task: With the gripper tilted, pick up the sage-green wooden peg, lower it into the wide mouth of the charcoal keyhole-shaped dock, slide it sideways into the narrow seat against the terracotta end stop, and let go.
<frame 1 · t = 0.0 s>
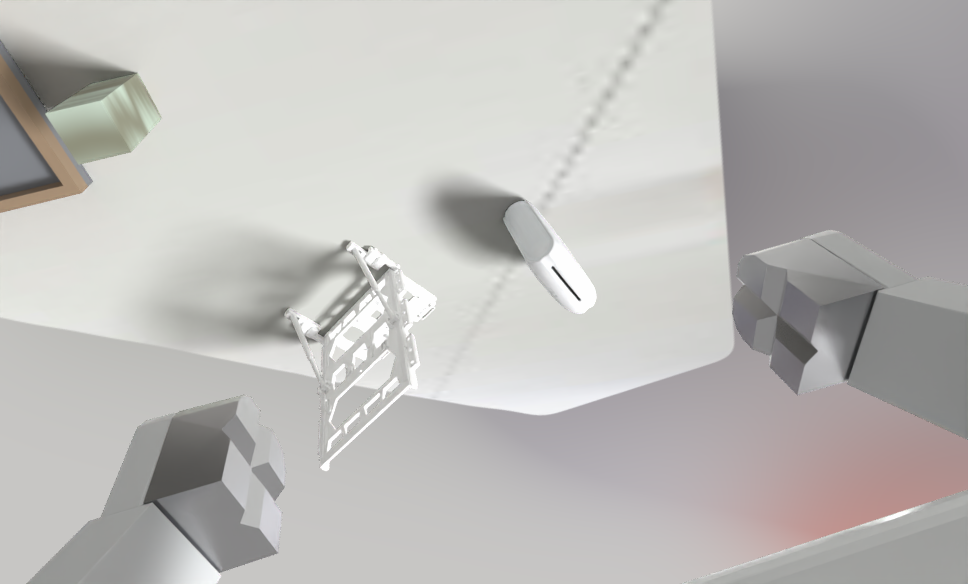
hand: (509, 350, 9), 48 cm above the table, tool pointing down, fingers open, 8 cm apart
green peg: (127, 101, 48), on the table
white perforated frame: (364, 306, 65), on the table
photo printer: (533, 232, 65), on the table
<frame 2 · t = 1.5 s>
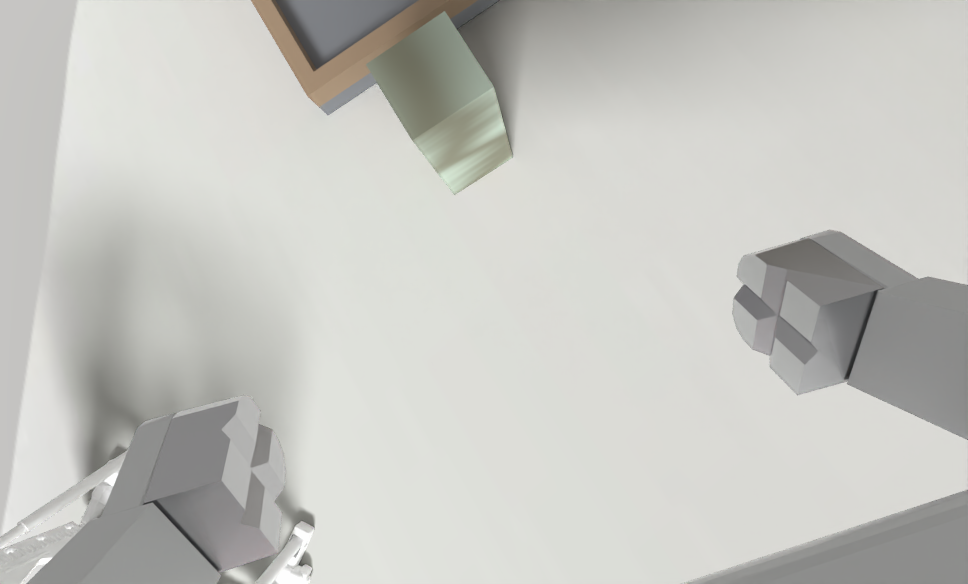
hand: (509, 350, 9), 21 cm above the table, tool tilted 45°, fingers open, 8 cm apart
green peg: (465, 148, 31), on the table
white perforated frame: (181, 583, 32), on the table
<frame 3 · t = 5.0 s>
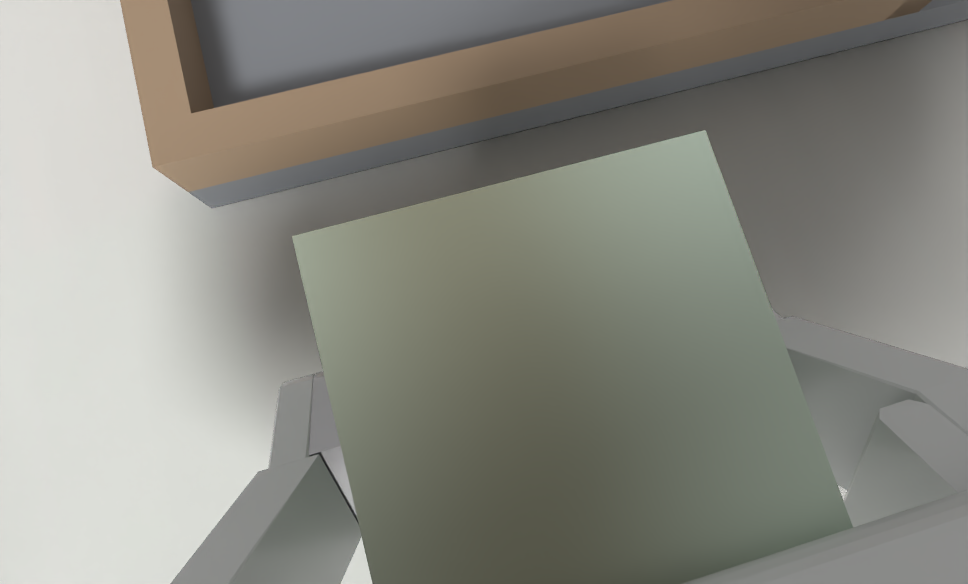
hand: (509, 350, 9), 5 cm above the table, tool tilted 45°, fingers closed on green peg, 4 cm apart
green peg: (500, 387, 14), on the table, touching gripper
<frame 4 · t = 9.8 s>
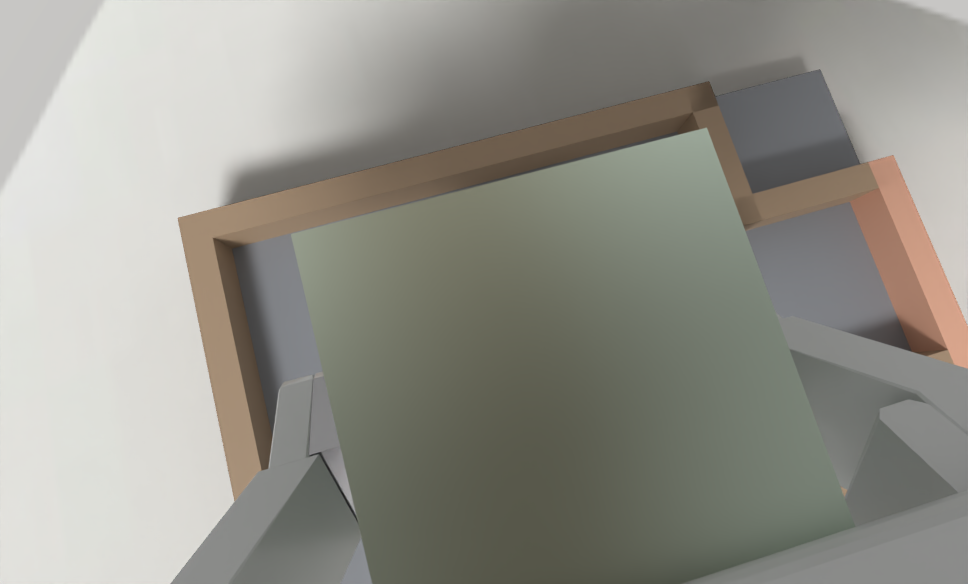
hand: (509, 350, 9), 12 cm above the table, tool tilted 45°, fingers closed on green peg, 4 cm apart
green peg: (500, 386, 14), point 7 cm above the table, touching gripper
keyhole dock: (571, 364, 21), on the table
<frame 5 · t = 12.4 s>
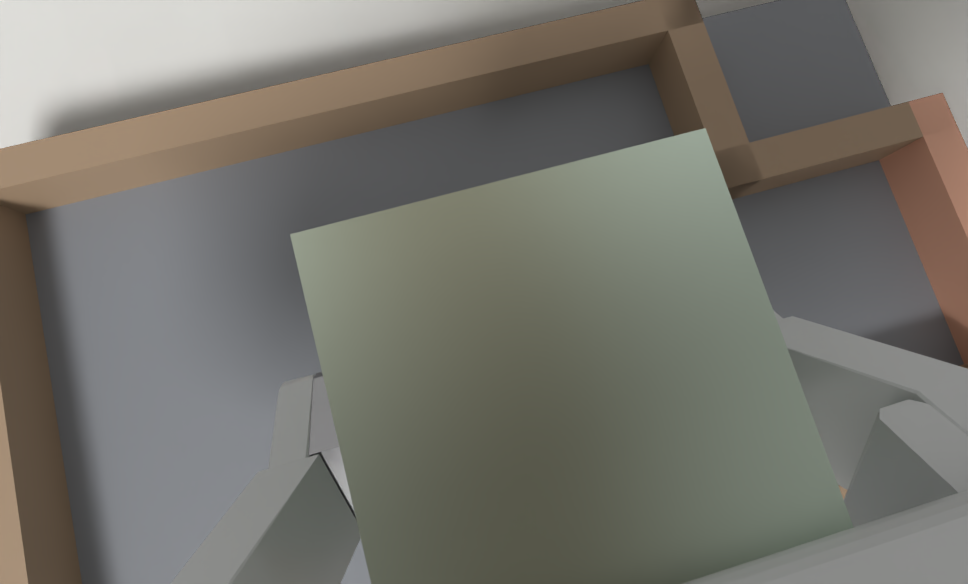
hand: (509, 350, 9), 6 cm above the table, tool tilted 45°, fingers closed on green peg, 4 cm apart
green peg: (499, 386, 14), point 2 cm above the table, touching gripper
keyhole dock: (501, 378, 15), on the table
when the fingers open (7 cm above the table, at t = 14.9 s): green peg stays where it is, resting on keyhole dock.
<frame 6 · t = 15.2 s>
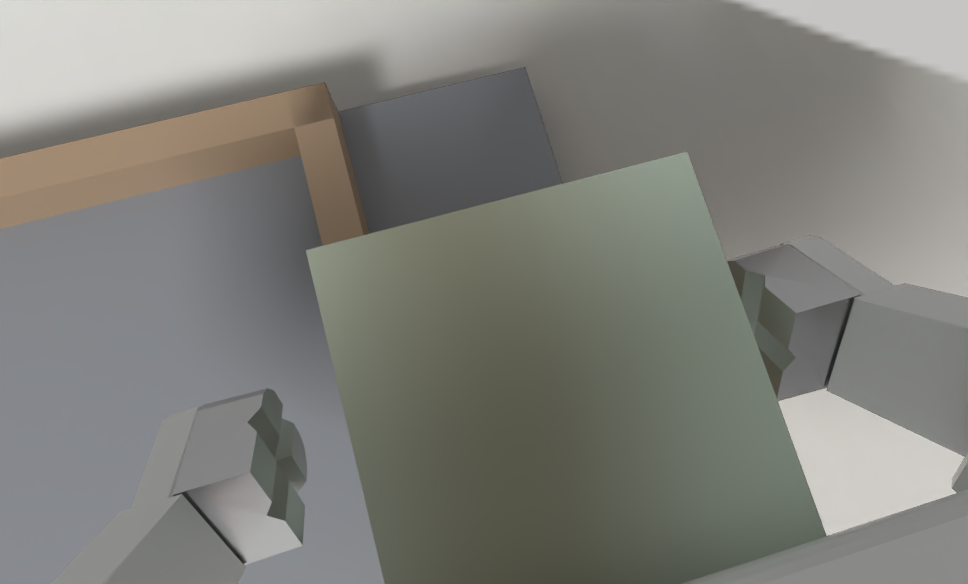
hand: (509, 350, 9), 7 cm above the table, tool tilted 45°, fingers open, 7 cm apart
green peg: (499, 387, 14), point 1 cm above the table, touching keyhole dock
keyhole dock: (146, 485, 14), on the table
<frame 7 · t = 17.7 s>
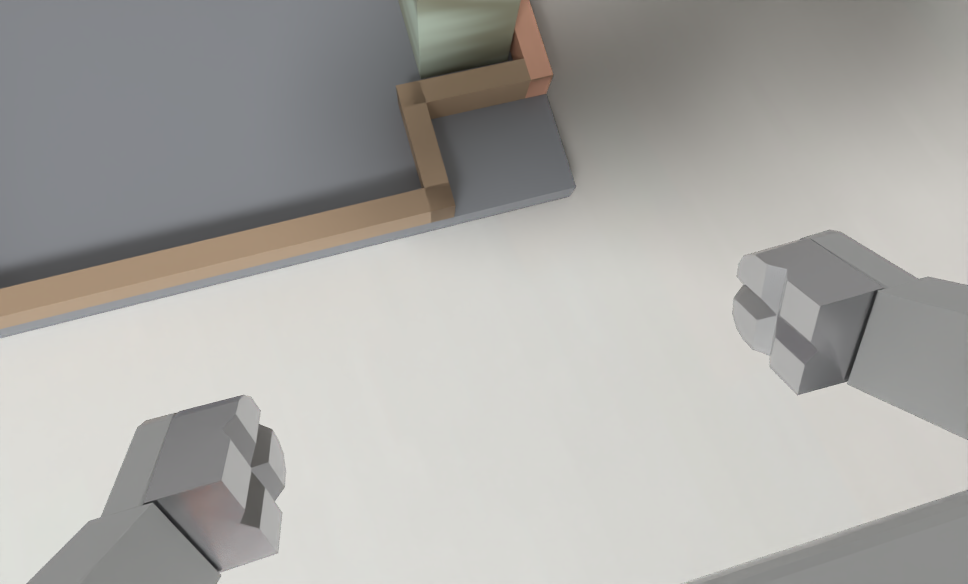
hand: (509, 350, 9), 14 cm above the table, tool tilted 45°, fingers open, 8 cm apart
green peg: (452, 29, 24), point 1 cm above the table, touching keyhole dock
keyhole dock: (241, 88, 24), on the table
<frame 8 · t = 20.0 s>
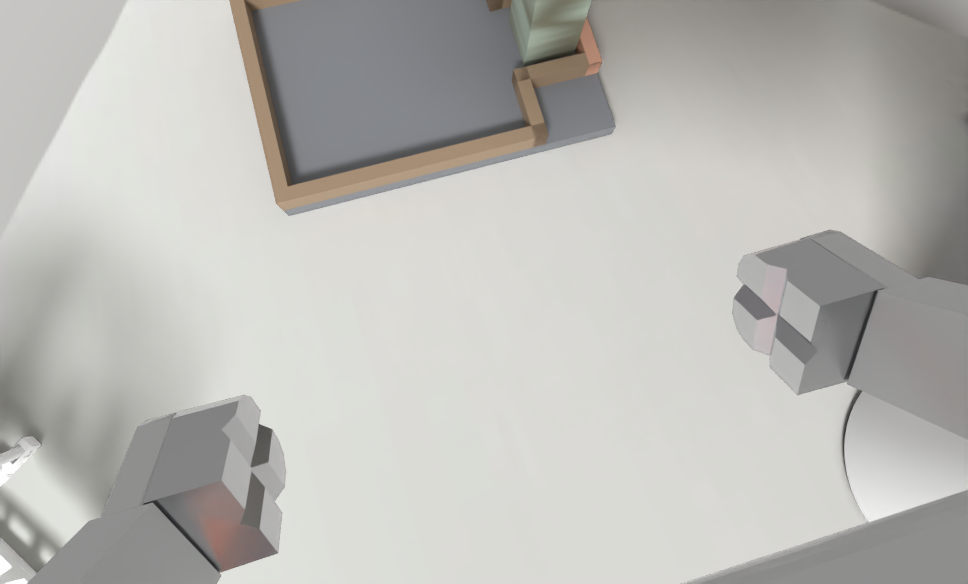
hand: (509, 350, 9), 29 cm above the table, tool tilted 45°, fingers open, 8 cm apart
green peg: (541, 37, 41), point 1 cm above the table, touching keyhole dock
white perforated frame: (19, 582, 35), on the table
keyhole dock: (418, 74, 41), on the table
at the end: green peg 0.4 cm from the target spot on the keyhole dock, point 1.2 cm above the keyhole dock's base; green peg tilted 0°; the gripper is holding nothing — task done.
